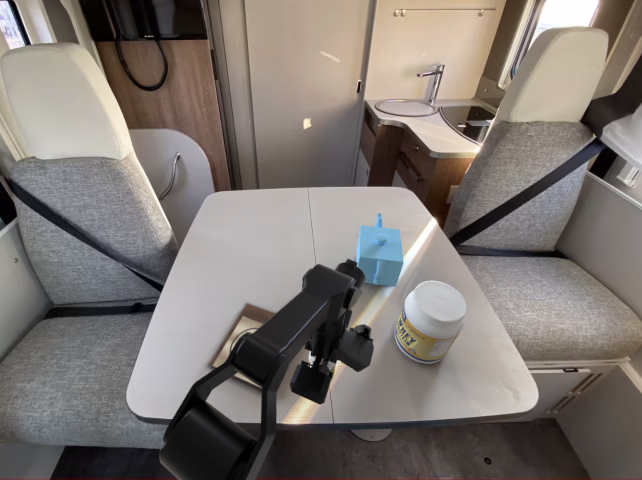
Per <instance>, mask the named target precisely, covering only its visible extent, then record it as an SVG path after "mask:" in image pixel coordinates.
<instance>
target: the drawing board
mask: <svg viewBox="0 0 642 480" xmlns="http://www.w3.org/2000/svg"><path fill="white" fill-rule="evenodd" d="M274 314H276V312H275V313H274V312H272V311H270V310H266V309H263V308H261V307H258V306H256V305H252V304H250V303H246V305H244V307H243V309H242V310H241V312H240V314H239V316H238V317H237V319H236V320H235V322H234V324H233V325H232V327H231V328H230V330H229V331H228V333H227V335H226V336H225V337H224V340H223V341H222V342H221V344H220V346H219V347H218V349H217V350H216V352H215V354H214V355H213V357H212V359H211V360H210V361H209V364H208V365H209V367H211V368H213V369H216V368H217V367H219V366H220V365H222V364H223V363H224V362H225V361H226V359H227V358H228V356H229V354H230V352H231V351H232V349H233V347H234V346H235V344H236V342H237V341H238V340H239V338H240V337H241V336H242V335H243V334H245V333H246V332H250V333H254V332H255V331H256V330H257V329H258V328H259V327H261V326H262V325H263V324H264V323H265V322H266V321H268V320H269V319H270V318H271V317H272V316H273V315H274ZM232 378H235V379H237V380H239V381H242V382H244V383H246V384H248V385H250V386H253V387H254V388H257V389H259V390H261V391H262V388H261V387H260V386H258V385H257V384H255V383H254V382H252V381H251V380H249V379H248V378H246V377H245V376H243V375H242V374H240V373H239V372H238V373H236V374H235V375H233V376H232Z"/></svg>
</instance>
